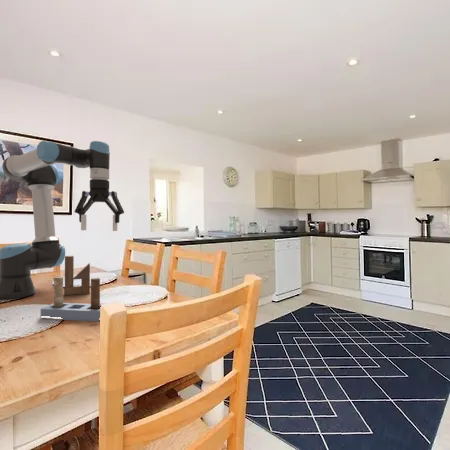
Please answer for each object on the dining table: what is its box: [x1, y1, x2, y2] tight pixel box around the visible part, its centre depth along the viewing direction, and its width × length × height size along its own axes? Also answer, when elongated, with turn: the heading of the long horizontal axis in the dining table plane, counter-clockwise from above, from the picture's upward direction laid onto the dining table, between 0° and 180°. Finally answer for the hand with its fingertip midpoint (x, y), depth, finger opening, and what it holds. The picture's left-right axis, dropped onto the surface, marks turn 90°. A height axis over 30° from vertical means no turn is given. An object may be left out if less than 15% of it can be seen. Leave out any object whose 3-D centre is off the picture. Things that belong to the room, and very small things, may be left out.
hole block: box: [40, 302, 103, 322], centre depth 107 cm, size 22×8×4 cm, turn 86°
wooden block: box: [63, 255, 91, 296], centre depth 138 cm, size 4×11×18 cm, turn 115°
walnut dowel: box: [90, 277, 101, 310], centre depth 106 cm, size 3×3×14 cm
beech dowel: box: [53, 276, 64, 308], centre depth 107 cm, size 3×3×14 cm
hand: (99, 230), depth 122 cm, fingers open, 13 cm apart
